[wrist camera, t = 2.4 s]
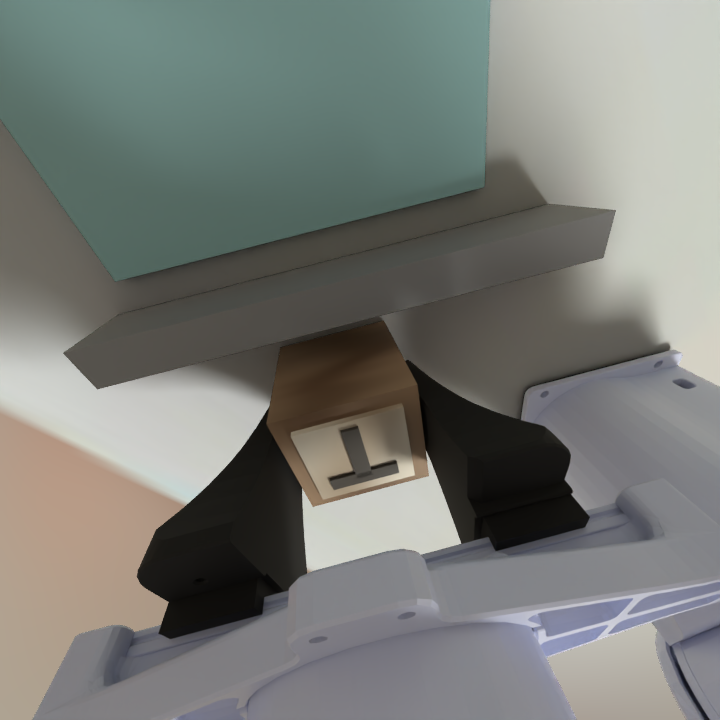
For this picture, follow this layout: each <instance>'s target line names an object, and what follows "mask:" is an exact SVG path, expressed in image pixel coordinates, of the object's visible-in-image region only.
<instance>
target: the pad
mask: <svg viewBox="0 0 720 720" xmlns="http://www.w3.org/2000/svg"><path fill="white" fill-rule="evenodd" d="M489 24H490V0H0V120H1V121H2V122H3V124H4V125H5V127H6V128H7V130H8V131H9V132H10V134H11V135H12V137H13V138H14V139H15V141H16V142H17V144H18V145H19V146H20V148H21V149H22V151H23V152H24V154H25V155H26V156H27V158H28V159H29V161H30V162H31V163H32V165H33V166H34V168H35V169H36V171H37V172H38V173H39V175H40V176H41V178H42V179H43V180H44V182H45V183H46V185H47V186H48V187H49V189H50V190H51V192H52V193H53V195H54V196H55V197H56V199H57V200H58V202H59V203H60V204H61V206H62V207H63V209H64V210H65V212H66V213H67V214H68V216H69V217H70V219H71V220H72V221H73V223H74V224H75V226H76V227H77V228H78V230H79V231H80V233H81V234H82V236H83V237H84V238H85V240H86V241H87V243H88V244H89V245H90V247H91V248H92V250H93V251H94V252H95V254H96V255H97V257H98V258H99V260H100V261H101V262H102V264H103V265H104V267H105V268H106V269H107V271H108V272H109V274H110V275H111V277H112V278H113V279H114V281H115V282H116V281H120V280H124V279H128V278H132V277H136V276H140V275H143V274H147V273H151V272H155V271H159V270H163V269H167V268H171V267H175V266H179V265H183V264H186V263H190V262H194V261H198V260H202V259H206V258H210V257H214V256H218V255H222V254H225V253H229V252H233V251H237V250H241V249H245V248H249V247H253V246H257V245H261V244H265V243H268V242H272V241H276V240H280V239H284V238H288V237H292V236H296V235H300V234H304V233H307V232H311V231H315V230H319V229H323V228H327V227H331V226H335V225H339V224H343V223H347V222H350V221H354V220H358V219H362V218H366V217H370V216H374V215H378V214H382V213H386V212H390V211H393V210H397V209H401V208H405V207H409V206H413V205H417V204H421V203H425V202H429V201H432V200H436V199H440V198H444V197H448V196H452V195H456V194H460V193H464V192H468V191H472V190H475V189H479V188H483V187H484V186H485V153H486V121H487V89H488V56H489Z"/></svg>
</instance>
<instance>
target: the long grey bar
mask: <svg viewBox="0 0 720 720" xmlns="http://www.w3.org/2000/svg"><path fill="white" fill-rule="evenodd" d="M615 212H616V210H608V209H597V208H586V207H576V206H565V205H554V204H547V205H544V206H540V207H536V208H532V209H528V210H524V211H520V212H516V213H512V214H509V215H505V216H501V217H497V218H493V219H489V220H485V221H481V222H477V223H474V224H470V225H466V226H462V227H458V228H454V229H450V230H446V231H443V232H439V233H435V234H431V235H427V236H423V237H419V238H415V239H411V240H408V241H404V242H400V243H396V244H392V245H388V246H384V247H380V248H376V249H373V250H369V251H365V252H361V253H357V254H353V255H349V256H345V257H341V258H338V259H334V260H330V261H326V262H322V263H318V264H314V265H310V266H306V267H303V268H299V269H295V270H291V271H287V272H283V273H279V274H275V275H272V276H268V277H264V278H260V279H256V280H252V281H248V282H244V283H240V284H237V285H233V286H229V287H225V288H221V289H217V290H213V291H209V292H205V293H202V294H198V295H194V296H190V297H186V298H182V299H178V300H174V301H170V302H167V303H163V304H159V305H155V306H151V307H147V308H143V309H139V310H135V311H132V312H128V313H124V314H120V315H117V316H116V317H114V318H113V319H111V320H110V321H108V322H107V323H106V324H104V325H103V326H101V327H100V328H98V329H97V330H95V331H94V332H93V333H91V334H90V335H88V336H87V337H85V338H84V339H82V340H81V341H80V342H78V343H77V344H75V345H74V346H72V347H71V348H69V349H68V350H67V351H65V352H64V353H63V354H64V355H65V356H66V357H67V358H68V359H69V360H70V361H71V362H72V363H73V364H74V365H75V366H76V367H77V368H78V369H79V370H80V371H81V373H82V374H83V375H84V376H85V377H86V378H87V379H88V380H89V381H90V382H91V383H92V384H93V385H94V386H95V387H96V388H97V389H100V388H104V387H108V386H112V385H116V384H120V383H123V382H127V381H131V380H135V379H139V378H143V377H146V376H150V375H154V374H158V373H162V372H166V371H170V370H173V369H177V368H181V367H185V366H189V365H193V364H197V363H200V362H204V361H208V360H212V359H216V358H220V357H223V356H227V355H231V354H235V353H239V352H243V351H247V350H250V349H254V348H258V347H262V346H266V345H270V344H273V343H277V342H281V341H285V340H289V339H293V338H297V337H300V336H304V335H308V334H312V333H316V332H320V331H324V330H327V329H331V328H335V327H339V326H343V325H347V324H350V323H354V322H358V321H362V320H366V319H370V318H374V317H377V316H381V315H385V314H389V313H393V312H397V311H400V310H404V309H408V308H412V307H416V306H420V305H424V304H427V303H431V302H435V301H439V300H443V299H447V298H451V297H454V296H458V295H462V294H466V293H470V292H474V291H477V290H481V289H485V288H489V287H493V286H497V285H501V284H504V283H508V282H512V281H516V280H520V279H524V278H527V277H531V276H535V275H539V274H543V273H547V272H551V271H554V270H558V269H562V268H566V267H570V266H574V265H577V264H581V263H585V262H589V261H593V260H597V259H601V258H603V257H604V253H605V250H606V246H607V242H608V238H609V234H610V231H611V227H612V223H613V219H614V215H615Z"/></svg>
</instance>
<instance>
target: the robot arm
mask: <svg viewBox="0 0 720 720" xmlns="http://www.w3.org/2000/svg"><path fill="white" fill-rule="evenodd" d="M682 356H683V355H682V353H681V352H678V351H676V350H670V351H666V352H662V353H658V354H655V355H651V356H647V357H643V358H639V359H636V360H632V361H628V362H624V363H620V364H617V365H613V366H609V367H605V368H601V369H598V370H594V371H590V372H586V373H583V374H579V375H575V376H571V377H567V378H564V379H560V380H556V381H552V382H548V383H545V384H541V385H537V386H533V387H531V388H529V389H528V390H527V391H526V393H525V396H524V402H523V409H522V415H521V420H519V419H515V418H512V417H509V416H506V415H503V414H500V413H497V412H494V411H491V410H489V409H486V408H484V407H481V406H479V405H477V404H474V403H472V402H470V401H468V400H466V399H464V398H462V397H460V396H458V395H457V394H455V393H453V392H451V391H450V390H448V389H447V388H445V387H443V386H442V385H440V384H439V383H437V382H436V381H435V380H433V379H432V378H430V377H429V376H428V375H426V374H425V373H424V372H423V371H421V370H420V369H419V368H418V367H416V366H415V365H414V364H413V363H412V362H411V361H409V360H406V361H405V362H406V364H407V366H408V368H409V369H410V371H411V373H412V375H413V377H414V379H415V381H416V383H417V385H418V393H419V401H420V409H421V417H422V425H423V433H424V441H425V449H426V451H427V453H428V455H429V458H430V460H431V462H432V465H433V468H434V470H435V473H436V475H437V478H438V480H439V483H440V486H441V488H442V491H443V494H444V496H445V499H446V502H447V504H448V507H449V510H450V513H451V515H452V518H453V521H454V524H455V527H456V529H457V532H458V535H459V538H460V541H461V544H460V545H456V546H452V547H448V548H445V549H441V550H437V551H434V552H430V553H426V554H422V555H420V554H419V553H418V552H416V551H412V550H406V549H399V550H392V551H386V552H382V553H379V554H375V555H371V556H367V557H364V558H360V559H356V560H353V561H349V562H345V563H341V564H338V565H334V566H330V567H327V568H323V569H319V570H315V571H312V572H310V573H308V574H307V567H306V555H305V543H304V527H303V508H302V487H301V485H300V483H299V481H298V479H297V478H296V476H295V474H294V472H293V471H292V469H291V467H290V465H289V464H288V462H287V460H286V458H285V456H284V455H283V453H282V451H281V449H280V448H279V446H278V444H277V442H276V441H275V439H274V437H273V435H272V433H271V432H270V430H269V428H268V426H267V425H266V423H267V418H268V412H269V408H268V410H267V411H266V413H265V415H264V416H263V418H262V420H261V421H260V423H259V424H258V426H257V427H256V429H255V430H254V432H253V433H252V435H251V436H250V437H249V439H248V440H247V442H246V443H245V445H244V446H243V447H242V449H241V450H240V451H239V452H238V454H237V455H236V456H235V457H234V458H233V460H232V461H231V462H230V463H229V464H228V465H227V466H226V467H225V469H224V470H223V471H222V472H221V473H220V474H219V475H218V476H217V477H216V478H215V479H214V480H213V481H212V482H211V483H210V484H209V485H208V486H207V487H206V488H205V489H204V490H203V491H202V492H201V493H200V494H199V495H197V496H196V497H195V498H194V499H193V500H192V501H191V502H190V503H189V504H187V505H186V506H185V507H184V508H183V509H181V510H180V511H179V512H178V513H177V514H175V515H174V516H173V517H172V518H170V519H169V520H168V521H167V522H165V523H164V524H163V525H162V526H160V527H159V528H158V529H156V531H155V534H154V536H153V538H152V540H151V542H150V545H149V547H148V549H147V551H146V554H145V556H144V558H143V560H142V563H141V565H140V567H139V569H138V574H137V578H138V580H139V582H140V584H141V585H142V586H144V587H145V588H146V589H148V590H150V591H151V592H153V593H155V594H156V595H158V596H160V597H161V598H163V599H165V600H166V601H168V602H169V603H168V606H167V609H166V612H165V615H164V618H163V621H162V624H161V625H159V626H155V627H152V628H148V629H144V630H141V631H137V632H134V631H133V630H132V629H131V628H129V627H127V626H123V625H112V626H107V627H104V628H99V629H96V630H92V631H88V632H85V633H81V634H79V635H77V636H76V637H75V638H74V640H73V642H72V644H71V646H70V648H69V650H68V652H67V654H66V656H65V658H64V660H63V661H62V663H61V666H60V667H59V669H58V671H57V673H56V675H55V677H54V679H53V681H52V683H51V685H50V687H49V689H48V690H47V692H46V694H45V696H44V698H43V700H42V702H41V704H40V706H39V708H38V710H37V712H36V714H35V716H34V718H33V720H577V719H576V717H575V715H574V712H573V710H572V709H571V707H570V704H569V702H568V700H567V699H566V697H565V694H564V692H563V690H562V688H561V686H560V684H559V682H558V680H557V678H556V676H555V674H554V672H553V670H552V668H551V666H550V664H549V662H548V660H547V657H550V656H553V655H556V654H559V653H562V652H564V651H568V650H571V649H573V648H576V647H579V646H582V645H585V644H588V643H591V642H594V641H597V640H600V639H603V638H606V637H608V636H611V635H614V634H617V633H620V632H623V631H626V630H629V629H631V628H634V627H638V626H641V625H644V624H647V623H650V622H652V624H653V625H654V626H655V628H656V629H657V632H656V640H655V644H656V650H657V655H658V659H659V662H660V665H661V668H662V671H663V673H664V676H665V678H666V680H667V683H668V685H669V687H670V690H671V692H672V694H673V696H674V698H675V700H676V702H677V704H678V706H679V708H680V710H681V712H682V713H683V715H684V717H685V719H686V720H720V387H719V386H717V385H715V384H713V383H711V382H709V381H707V380H705V379H703V378H701V377H699V376H697V375H695V374H693V373H691V372H689V371H687V370H685V369H683V368H681V367H679V366H678V365H679V363H680V361H681V359H682ZM269 407H270V406H269Z"/></svg>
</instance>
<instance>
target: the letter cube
mask: <svg viewBox="0 0 720 720" xmlns="http://www.w3.org/2000/svg"><path fill="white" fill-rule="evenodd" d="M266 425H267V426H268V428H269V430H270V432H271V433H272V435H273V437H274V439H275V441H276V442H277V444H278V446H279V448H280V449H281V451H282V453H283V455H284V456H285V458H286V460H287V462H288V464H289V465H290V467H291V469H292V471H293V472H294V474H295V476H296V478H297V479H298V481H299V483H300V485H301V487H302V488H303V490H304V492H305V494H306V495H307V497H308V499H309V501H310V502H311V504H312V506H313V507H314V506H318V505H321V504H325V503H329V502H333V501H336V500H340V499H344V498H348V497H351V496H355V495H359V494H363V493H366V492H370V491H374V490H378V489H381V488H385V487H389V486H393V485H396V484H400V483H404V482H408V481H411V480H415V479H419V478H423V477H426V476H429V473H428V465H427V457H426V449H425V441H424V433H423V425H422V417H421V409H420V401H419V393H418V385H417V383H416V381H415V379H414V377H413V375H412V373H411V371H410V369H409V368H408V366H407V364H406V362H405V360H404V358H403V356H402V354H401V352H400V351H399V349H398V347H397V345H396V343H395V341H394V339H393V337H392V335H391V333H390V332H389V330H388V328H387V326H386V324H385V322H384V321H380V322H377V323H373V324H369V325H365V326H361V327H357V328H353V329H350V330H346V331H342V332H338V333H334V334H330V335H327V336H323V337H319V338H315V339H311V340H307V341H303V342H300V343H296V344H292V345H288V346H284V347H280V352H279V357H278V363H277V368H276V374H275V379H274V385H273V390H272V396H271V401H270V407H269V412H268V418H267V423H266Z"/></svg>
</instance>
